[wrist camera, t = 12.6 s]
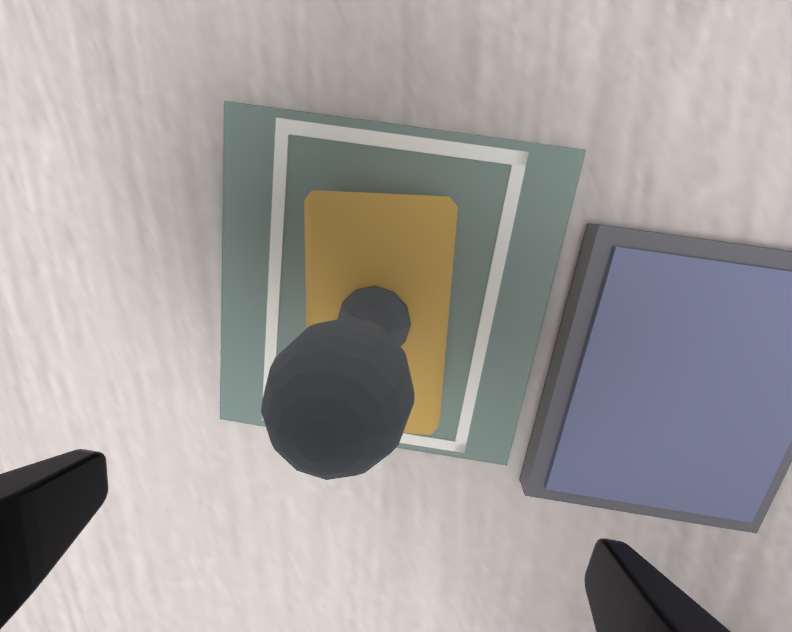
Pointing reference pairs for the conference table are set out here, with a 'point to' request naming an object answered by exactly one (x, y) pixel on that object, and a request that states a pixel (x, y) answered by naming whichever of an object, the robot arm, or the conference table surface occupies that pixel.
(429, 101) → the conference table surface
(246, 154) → the marking board
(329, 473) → the rubber stamp
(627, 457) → the ink pad
